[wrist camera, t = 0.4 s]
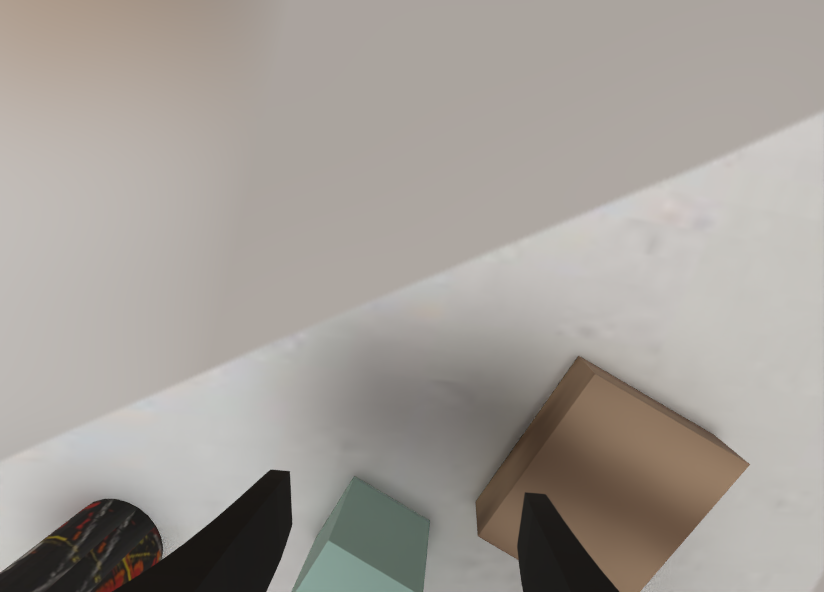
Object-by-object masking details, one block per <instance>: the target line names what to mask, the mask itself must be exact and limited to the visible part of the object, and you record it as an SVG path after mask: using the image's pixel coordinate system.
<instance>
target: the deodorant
mask: <svg viewBox="0 0 824 592" xmlns="http://www.w3.org/2000/svg"><path fill="white" fill-rule="evenodd" d="M162 550H163V547H162V542H161V537H160V534H159V532H158V530H157V528H156V526H155V525H154V523H153V522H152V521H151V520H150V518H149V517H148V516H147V515H146V514H145V513H143V512H142V511H141V510H140V509H139V508H137V507H135V506H133V505H131V504H129V503H127V502H124V501H120V500H116V499H103V500H100V501H96V502H93V503H92V504H90V505H89V506H87V507H85V508H84V509H83V510H82V511H80V512H79V513H78V514H76V515H75V516H74V517H72V518H71V519H70V520H69V521H67V522H66V523H65V524H63V525H62V526H61V527H59V528H58V529H57V530H55V531H54V532H53V533H52V534H50V535H49V536H48V537H46V538H45V539H44V540H42V541H41V542H40V543H39V544H37V545H36V546H35V547H33V548H32V549H31V550H29V551H28V552H27V553H25V554H24V555H23V556H22V557H20V558H19V559H18V560H16V561H15V562H14V563H12V564H11V565H10V566H9V567H7V568H6V569H5V570H3V571H2V572H1V573H0V592H112V591H114V590H115V589H117V588H118V587H120V586H122V585H123V584H125V583H127V582H128V581H130V580H132V579H133V578H135V577H136V576H138V575H140V574H141V573H143V572H144V571H146V570H148V569H149V568H151V567H152V566H154V565H155V564H156V563H158V562H159V561H161V559H162Z"/></svg>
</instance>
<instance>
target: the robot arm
mask: <svg viewBox="0 0 824 592" xmlns="http://www.w3.org/2000/svg"><path fill="white" fill-rule="evenodd" d="M291 527H292V508H291V486H290V471H280V470H270V471H269V472H267V473H266V474H265V475H264V476H263V477H262V478H261V479H259V480H258V481H257V482H256V483H255V484H254V485H253V486H252V487H251V488H250V489H248V490H247V491H246V492H245V493H244V494H243V495H242V496H241V497H240V498H238V499H237V500H236V501H235V502H234V503H233V504H232V505H231V506H229V507H228V508H227V509H226V510H225V511H224V512H222V513H221V514H220V515H219V516H218V517H217V518H216V519H214V520H213V521H212V522H211V523H210V524H208V525H207V526H206V527H205V528H203V529H202V530H201V531H200V532H198V533H197V534H196V535H195V536H193V537H192V538H191V539H190V540H188V541H187V542H186V543H184V544H183V545H182V546H180V547H179V548H178V549H176V550H175V551H174V552H172V553H171V554H170V555H168V556H167V557H165V558H164V559H162V560H161V561H159V562H158V563H156V564H155V565H154V566H152V567H151V568H149V569H148V570H146V571H144V572H143V573H141V574H140V575H138V576H136V577H135V578H133V579H132V580H130V581H128V582H127V583H125V584H123V585H122V586H120V587H118V588H117V589H115V590H114V591H112V592H266V591H267V589H268V587H269V584H270V582H271V580H272V578H273V576H274V573H275V571H276V569H277V567H278V565H279V562H280V560H281V557H282V554H283V551H284V549H285V546H286V543H287V540H288V536H289V533H290V530H291ZM517 551H518V559H519V567H520V575H521V582H522V587H523V592H619V590H618V589H617V588H616V587H615V586H614V584H613V583H612V582H611V581H610V580H609V579H608V577H607V576H606V575H605V574H604V573H603V571H602V570H601V569H600V568H599V566H598V565H597V564H596V563H595V561H594V560H593V559H592V557H591V556H590V555H589V554H588V552H587V551H586V550H585V548H584V547H583V546H582V544H581V543H580V542H579V540H578V539H577V538H576V536H575V535H574V534H573V532H572V531H571V529H570V528H569V527H568V525H567V524H566V522H565V521H564V520H563V518H562V517H561V515H560V514H559V512H558V511H557V509H556V508H555V506H554V505H553V503H552V502H551V501H550V499H549V498H548V496H547V495H546V494H539V493H528V492H525V495H524V501H523V508H522V515H521V522H520V529H519V536H518V542H517Z"/></svg>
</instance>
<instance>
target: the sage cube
mask: <svg viewBox="0 0 824 592" xmlns="http://www.w3.org/2000/svg"><path fill="white" fill-rule="evenodd" d="M429 524H430V521H429V520H428V519H426V518H424V517H423V516H421V515H419V514H417V513H416V512H414V511H412V510H411V509H409V508H407V507H406V506H404V505H402V504H401V503H399V502H397V501H396V500H394V499H392V498H390V497H389V496H387V495H385V494H384V493H382V492H380V491H379V490H377V489H375V488H374V487H372V486H370V485H368V484H367V483H365V482H363V481H362V480H360V479H358V478H357V477H355V476H354V478H353V479H352V481H351V482H350V484H349V486H348V487H347V489H346V491H345V492H344V494H343V495H342V497H341V499H340V500H339V502H338V503H337V505H336V507H335V508H334V510H333V512H332V513H331V515H330V516H329V518H328V520H327V521H326V523H325V524H324V526H323V528H322V529H321V531H320V532H319V534H318V536H317V537H316V539H315V541H314V543H313V545H312V548H311V550H310V552H309V554H308V556H307V559H306V561H305V563H304V565H303V567H302V570H301V572H300V574H299V576H298V579H297V581H296V583H295V585H294V587H293V590H292V592H423V589H424V578H425V567H426V556H427V546H428V535H429Z"/></svg>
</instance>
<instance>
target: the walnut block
mask: <svg viewBox="0 0 824 592" xmlns="http://www.w3.org/2000/svg"><path fill="white" fill-rule="evenodd" d="M749 465H750V464H749V463H747V462H746V461H745V460H744V459H743V458H741V457H740V456H739V455H738V454H737V453H735V452H734V451H733V450H732V449H731V448H729V447H728V446H727V445H726V444H724V443H723V442H722V441H721V440H720V439H718V438H717V437H716V436H715V435H713V434H711V433H710V432H708V431H706V430H705V429H703V428H701V427H700V426H698V425H696V424H694V423H693V422H691V421H689V420H688V419H686V418H684V417H682V416H681V415H679V414H677V413H676V412H674V411H672V410H670V409H669V408H667V407H665V406H664V405H662V404H660V403H659V402H657V401H655V400H653V399H652V398H650V397H648V396H647V395H645V394H643V393H641V392H640V391H638V390H636V389H635V388H633V387H631V386H629V385H628V384H626V383H624V382H623V381H621V380H619V379H618V378H616V377H614V376H612V375H611V374H609V373H607V372H606V371H604V370H602V369H600V368H599V367H597V366H595V365H594V364H592V363H590V362H588V361H587V360H585V359H583V358H582V357H580V356H578V357H577V359H576V360H575V362H574V363H573V365H572V366H571V367H570V369H569V370H568V372H567V373H566V374H565V376H564V377H563V379H562V380H561V382H560V383H559V384H558V386H557V387H556V389H555V390H554V391H553V393H552V394H551V396H550V397H549V399H548V400H547V401H546V403H545V404H544V406H543V407H542V409H541V410H540V411H539V413H538V414H537V416H536V417H535V418H534V420H533V421H532V423H531V424H530V426H529V427H528V428H527V430H526V431H525V433H524V434H523V435H522V437H521V438H520V440H519V441H518V443H517V444H516V445H515V447H514V448H513V450H512V451H511V452H510V454H509V455H508V457H507V458H506V460H505V461H504V462H503V464H502V465H501V467H500V468H499V469H498V471H497V472H496V474H495V475H494V477H493V478H492V479H491V481H490V482H489V484H488V485H487V487H486V488H485V489H484V491H483V492H482V494H481V495H480V496H479V498H478V499H477V501H476V515H477V531H478V536H479V537H480V538H482V539H484V540H485V541H487V542H489V543H490V544H492V545H494V546H496V547H497V548H499V549H501V550H502V551H504V552H506V553H507V554H509V555H511V556H513V557H514V558H516V559H518V551H517V542H518V536H519V529H520V522H521V515H522V508H523V501H524V495H525V492H528V493H539V494H546V495H547V496H548V498H549V499H550V501H551V502H552V503H553V505H554V506H555V508H556V509H557V511H558V512H559V514H560V515H561V517H562V518H563V520H564V521H565V522H566V524H567V525H568V527H569V528H570V529H571V531H572V532H573V534H574V535H575V536H576V538H577V539H578V540H579V542H580V543H581V544H582V546H583V547H584V548H585V550H586V551H587V552H588V554H589V555H590V556H591V557H592V559H593V560H594V561H595V563H596V564H597V565H598V566H599V568H600V569H601V570H602V571H603V573H604V574H605V575H606V576H607V577H608V579H609V580H610V581H611V582H612V583H613V584H614V586H615V587H616V588H617V589H618V590H619V592H640V591H641V590H642V589H643V587H644V586H645V585H646V584H647V583H648V582H649V581H650V579H651V578H652V577H653V576H654V575H655V574H656V572H657V571H658V570H659V569H660V568H661V567H662V566H663V564H664V563H665V562H666V561H667V560H668V559H669V557H670V556H671V555H672V554H673V553H674V552H675V550H676V549H677V548H678V547H679V546H680V545H681V544H682V542H683V541H684V540H685V539H686V538H687V537H688V535H689V534H690V533H691V532H692V531H693V530H694V529H695V527H696V526H697V525H698V524H699V523H700V522H701V520H702V519H703V518H704V517H705V516H706V515H707V513H708V512H709V511H710V510H711V509H712V508H713V507H714V505H715V504H716V503H717V502H718V501H719V500H720V498H721V497H722V496H723V495H724V494H725V493H726V492H727V490H728V489H729V488H730V487H731V486H732V485H733V483H734V482H735V481H736V480H737V479H738V478H739V477H740V475H741V474H742V473H743V472H744V471H745V470H746V468H747V467H748V466H749ZM518 560H519V559H518Z"/></svg>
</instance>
